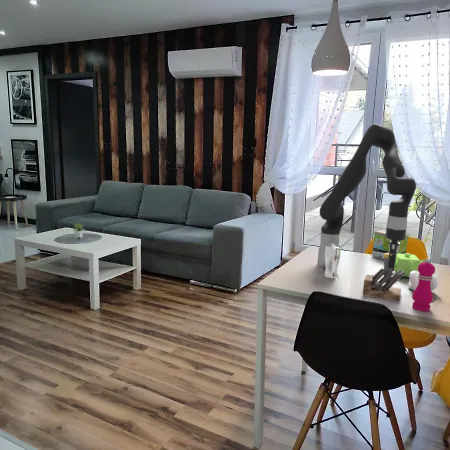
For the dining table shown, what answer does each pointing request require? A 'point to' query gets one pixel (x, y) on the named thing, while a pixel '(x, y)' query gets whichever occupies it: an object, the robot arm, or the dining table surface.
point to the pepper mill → (423, 287)
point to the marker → (388, 270)
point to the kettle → (407, 263)
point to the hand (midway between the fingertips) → (391, 265)
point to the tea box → (386, 244)
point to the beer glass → (331, 260)
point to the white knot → (415, 280)
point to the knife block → (377, 290)
